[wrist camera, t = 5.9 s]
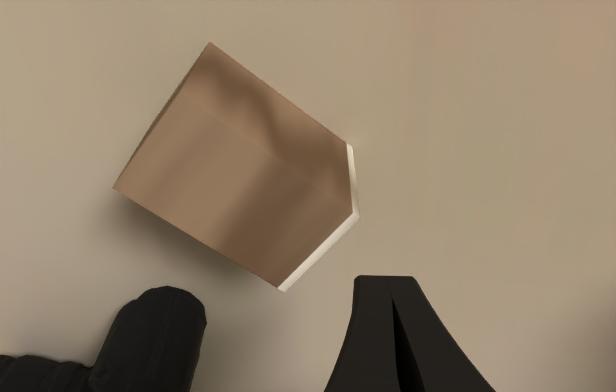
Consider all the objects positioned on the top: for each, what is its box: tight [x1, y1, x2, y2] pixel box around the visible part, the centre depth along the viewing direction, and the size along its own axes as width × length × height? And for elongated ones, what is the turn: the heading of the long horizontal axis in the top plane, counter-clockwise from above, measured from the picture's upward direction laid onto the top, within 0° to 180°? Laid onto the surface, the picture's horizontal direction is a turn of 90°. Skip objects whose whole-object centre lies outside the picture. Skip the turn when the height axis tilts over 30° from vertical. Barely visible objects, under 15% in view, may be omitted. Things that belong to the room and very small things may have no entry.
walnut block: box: [112, 42, 360, 292], centre depth 20 cm, size 5×4×7 cm
